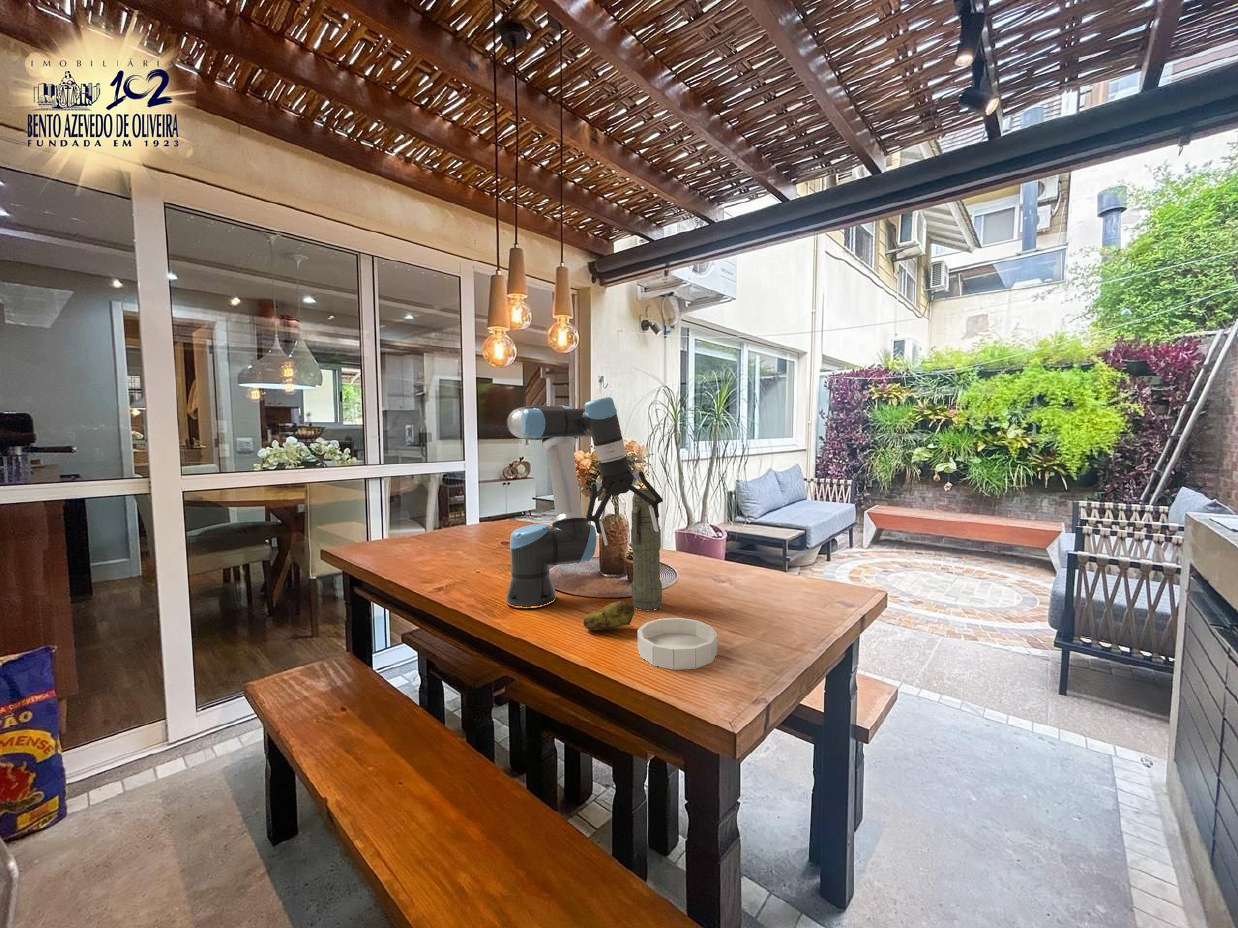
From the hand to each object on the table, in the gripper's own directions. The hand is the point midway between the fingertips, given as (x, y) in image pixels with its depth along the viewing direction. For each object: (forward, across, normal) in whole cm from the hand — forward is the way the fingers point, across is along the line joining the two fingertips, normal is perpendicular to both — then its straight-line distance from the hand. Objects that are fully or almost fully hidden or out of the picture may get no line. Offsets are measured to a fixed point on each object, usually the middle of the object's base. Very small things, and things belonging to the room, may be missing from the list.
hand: (631, 537), depth 127 cm
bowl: (+24, +3, -17) cm, 30 cm away
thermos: (+26, +1, +14) cm, 30 cm away
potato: (+22, -11, -2) cm, 25 cm away
